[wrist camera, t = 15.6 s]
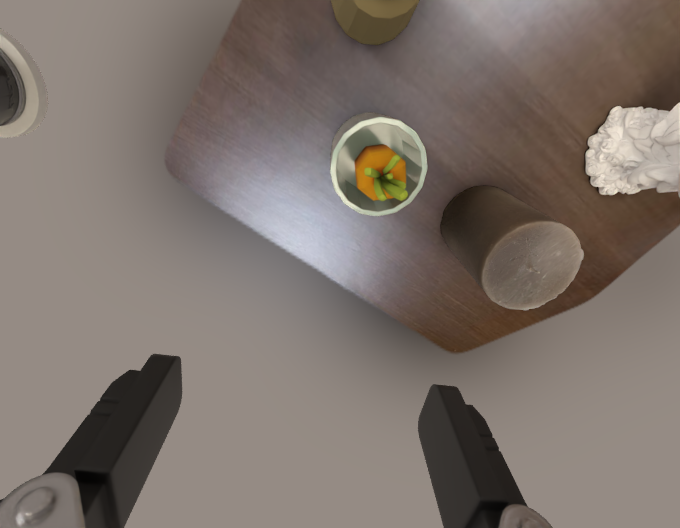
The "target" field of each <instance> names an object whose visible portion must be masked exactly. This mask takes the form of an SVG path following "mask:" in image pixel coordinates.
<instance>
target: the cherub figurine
mask: <svg viewBox="0 0 680 528" xmlns="http://www.w3.org/2000/svg"><path fill="white" fill-rule="evenodd" d="M587 143H588V146H589V149H588V150H587V151H586V154H585V159H586V174H587V175H589V176H591V178H590V183H591V185H592V186H595V187H599V193H600V194H602V195H607V194H609V195H614V194H616V193H617V192H621V193H622V194H624V193H627V194H634V193H637V192H639V191H640V190H641V189H650V188H657V192H659V193H663V192H675V191H678V195H679V197H680V102H679V103H678V104H677V105H676V106H675V107H674V108H673V109H672V110H671V111H670V112H669V111H665V110H657V109H653V108H646V109H643V107H638V108H635V107H634V108H622V107H621V106H616V107H614V108H613V109H611V111H610V113H609V115H608V117H607V119H606V122H605V123H604V124H603V125H602V126H601V127H600V128H599V129H598V133H597V134H595V135H592V136H590V137H589V139H588V142H587Z"/></svg>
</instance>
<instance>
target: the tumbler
mask: <svg viewBox="0 0 680 528" xmlns="http://www.w3.org/2000/svg"><path fill="white" fill-rule="evenodd" d="M380 144H384V145H387V146H388V147H389V148H391V149H392V150H393V151H394V152H395V153H396V154H398V155H399V156H400V157H401V158H402V159H403V160H405V162H406V188H405V189H404V190H406V191H407V193H408V197H407V198H406V199H404V200H402V201H400V200H398V199H395V198H392V199H386V200H385V201H380V200H375V201H373V200H372V199H370V198H369V197H368V196H367V195H365V194H364V193H363V192H362V191H360V190H359V189H358V188H357V184H356V174H355V164H354V161H355V159H356V158H357V157H358V156H359V154H360V153H361V152H362V150H363V149H364V148H365V147H366V146H372V145H380ZM427 168H428V167H427V158H426V149H425V147H424V145H423V144H422V142H421V140H420V138H419V136H418V135H417V133H416V132H415V131H414V130H413V129H411V128H410V127H408V126H407V125H406V124H404V123H403V122H402V121H400V120H397V119H395V118H392V117H389V116H386V115H383V114H378V113H373V112H368V113H362V114H359V115H355V116H353V117H352V118H350V119H349V120H347V121H346V122H345V123H344V124H342V125H341V127H340V128H339V130H338V131H337V133H336V135H335V137H334V138H333V141H332V147H331V154H330V173H331V178H332V182H333V186H334V190H335V191H336V193H337V194H338V195H339V197H340V198H341V200H342V201H343V202H344V204H345V205H347V206H348V207H350V208H352V209H353V210H355V211H356V212H358V213H360V214H365V215H371V216H382V215H387V214H392V213H395V212H397V211H399V210H400V209H402V208H403V207H405V206H406V205H408V204H409V203H411V202H412V200H413V199H414V198H415V196H416V195H417V194H418V192H419V191H420V190H421V188H422V187H423V183H424V179H425V176H426V172H427Z"/></svg>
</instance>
